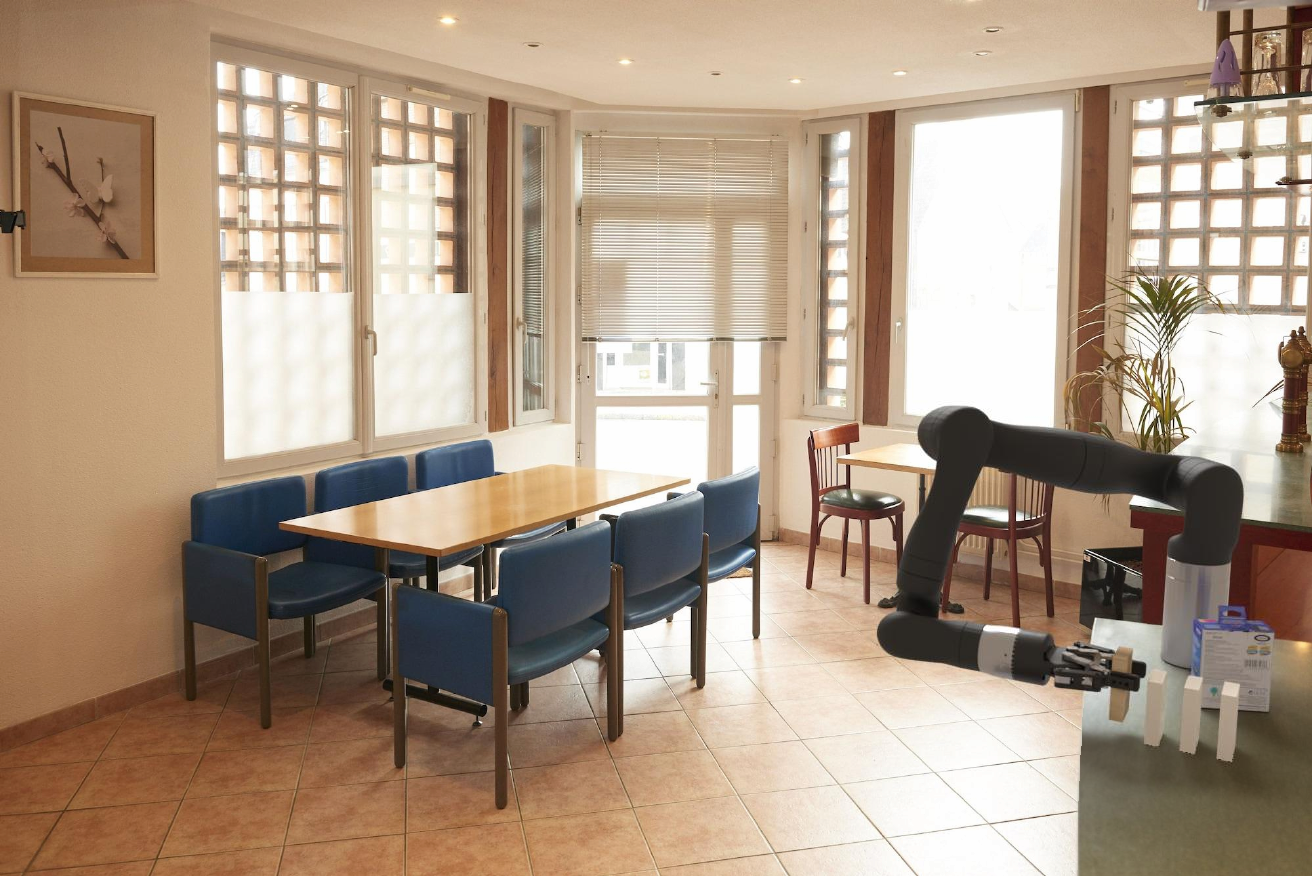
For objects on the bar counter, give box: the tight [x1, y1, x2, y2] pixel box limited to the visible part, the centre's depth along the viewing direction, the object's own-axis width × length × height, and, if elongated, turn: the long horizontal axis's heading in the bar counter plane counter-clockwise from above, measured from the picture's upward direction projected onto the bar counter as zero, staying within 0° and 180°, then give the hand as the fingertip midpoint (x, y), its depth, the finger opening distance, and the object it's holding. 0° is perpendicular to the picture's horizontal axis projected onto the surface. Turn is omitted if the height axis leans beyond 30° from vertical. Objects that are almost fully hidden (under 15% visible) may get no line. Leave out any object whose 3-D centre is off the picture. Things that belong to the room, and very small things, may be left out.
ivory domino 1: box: [1143, 668, 1168, 747], centre depth 146 cm, size 5×2×9 cm, turn 148°
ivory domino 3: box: [1216, 681, 1240, 763], centre depth 142 cm, size 5×2×9 cm, turn 148°
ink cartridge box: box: [1190, 605, 1276, 713], centre depth 157 cm, size 10×6×14 cm, turn 78°
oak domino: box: [1108, 645, 1134, 723], centre depth 148 cm, size 5×2×9 cm, turn 148°
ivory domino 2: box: [1179, 674, 1203, 755], centre depth 144 cm, size 5×2×9 cm, turn 148°
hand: (1142, 677), depth 146 cm, fingers closed on oak domino, 5 cm apart
